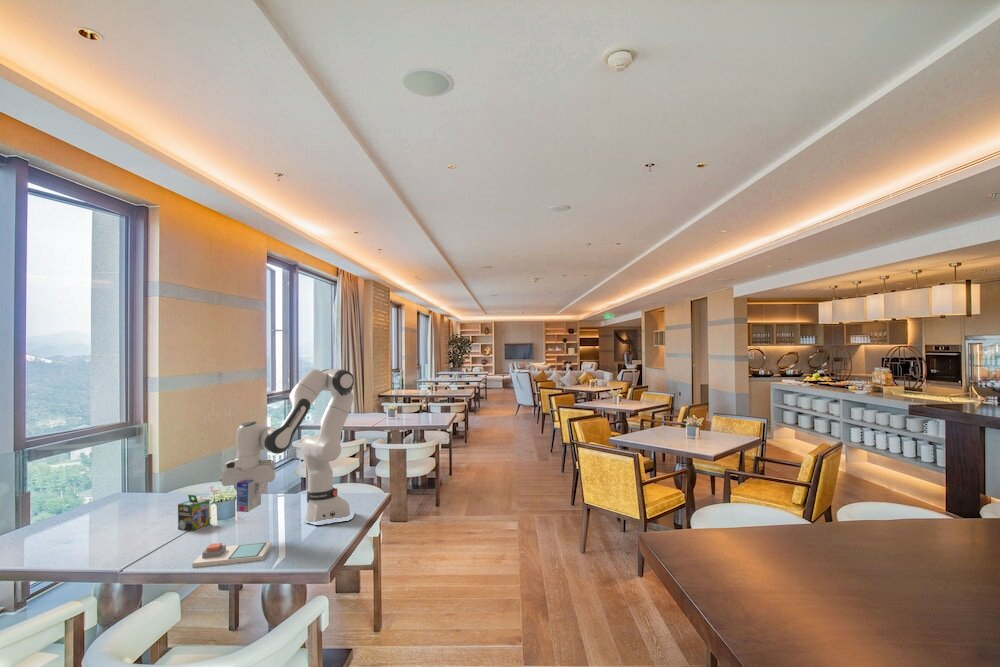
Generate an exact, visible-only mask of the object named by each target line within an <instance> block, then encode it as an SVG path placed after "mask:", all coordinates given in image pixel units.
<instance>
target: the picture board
mask: <svg viewBox="0 0 1000 667" xmlns="http://www.w3.org/2000/svg"><path fill="white" fill-rule="evenodd" d="M271 545H272V546H273V542H272V541H268V542H267V541H266V542H260V543H259V542H258V543H249V544H247V543H246V544H239V545H238V544H237V545H227V544H222V548H221V549H220V550H219V551H209V552H207V548H205V550H203V551H202V553H201V554H199V556H198V557H196V559H195V560H194V561H193V562H192V564H191V565H192V568H199V567H200V566H201V567H210V565H211V566H218V564H221V565H227V564H226V563H230V564H237V563H238V562H240V563H246V562H248V561H249V562H257V561H256V560H259V561H263V560H264V559H265V557H266V556H265V555H267V554H268V553H269V551H270V549H271V548H272V546H271ZM270 547H271V548H270ZM269 548H270V549H269ZM268 550H269V551H268ZM267 552H268V553H267ZM266 553H267V554H266ZM263 558H264V559H263Z"/></svg>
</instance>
